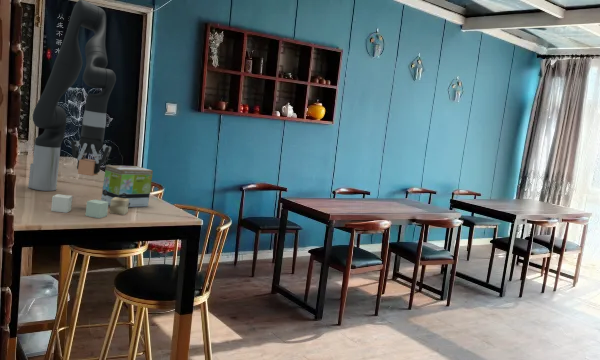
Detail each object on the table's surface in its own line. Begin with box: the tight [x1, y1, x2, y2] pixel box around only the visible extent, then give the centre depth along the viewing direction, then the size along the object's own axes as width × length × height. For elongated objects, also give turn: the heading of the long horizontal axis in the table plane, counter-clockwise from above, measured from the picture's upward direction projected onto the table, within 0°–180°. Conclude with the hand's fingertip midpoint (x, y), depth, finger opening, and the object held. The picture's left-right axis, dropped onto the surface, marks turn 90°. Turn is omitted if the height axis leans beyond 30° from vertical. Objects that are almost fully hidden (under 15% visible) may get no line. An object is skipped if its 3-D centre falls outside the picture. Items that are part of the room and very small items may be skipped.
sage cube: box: [84, 199, 109, 219], centre depth 175 cm, size 5×5×5 cm
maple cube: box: [109, 197, 129, 216], centre depth 185 cm, size 5×5×5 cm
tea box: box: [100, 164, 154, 208], centre depth 199 cm, size 15×10×15 cm, turn 148°
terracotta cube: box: [77, 158, 99, 177], centre depth 183 cm, size 5×5×5 cm
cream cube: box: [50, 193, 73, 214], centre depth 175 cm, size 5×5×5 cm
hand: (88, 172), depth 183 cm, fingers closed on terracotta cube, 5 cm apart
